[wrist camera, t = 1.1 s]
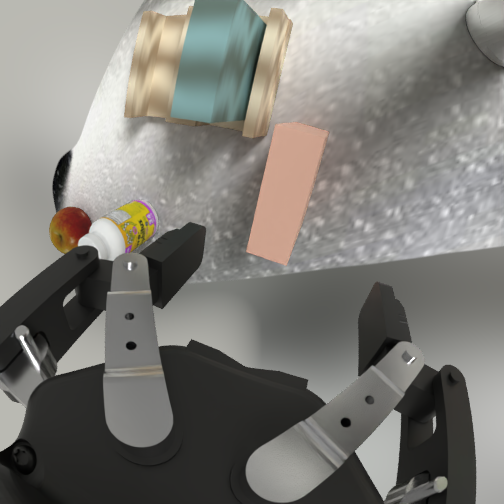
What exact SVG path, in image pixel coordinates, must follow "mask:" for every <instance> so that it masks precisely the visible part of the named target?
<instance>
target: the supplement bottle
mask: <svg viewBox="0 0 504 504" xmlns="http://www.w3.org/2000/svg"><path fill="white" fill-rule="evenodd" d="M158 224H159V221H158V216H157V213H156V211H155V209H154V208H153V207H152V205H151V204H149V203H148V202H147V201H144V200H140V199H138V200H134V201H131V202H129V203H127V204H126V205H124V206H122V207H120V208H118V209H116V210H114V211H113V212H111V213H109V214H107V215H105V216H103V217H102V218H100V219H98V220H96V221H95V222H94V223H93V224H92V225H91V227H90V230H89V234H86V235H85V236H83V237H82V238H80V240H79V242H78V246H82V245H89V246H93V247H95V248H96V249H97V250H98V255H99V259H105V260H111V261H114V259H115V258H116V257H117V256H119V255H121V254H124V253H130V252H132V251H133V250H134V249H136V248H137V247H138V246H140V245H141V244H142V243H144V242H145V241H147V240H148V239H149V238H151V237H152V236H153V235H154V234H155V233H156V231H157V229H158Z"/></svg>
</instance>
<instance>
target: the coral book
mask: <svg viewBox="0 0 504 504" xmlns="http://www.w3.org/2000/svg"><path fill="white" fill-rule="evenodd" d="M328 135H329V131H325V130H322V129H319V128H315V127H312V126H308V125H305V124H301V123H298V122H291V123H282V124H275V128H274V132H273V137H272V141H271V145H270V150H269V154H268V158H267V163H266V167H265V171H264V176H263V180H262V184H261V189H260V193H259V198H258V202H257V206H256V211H255V215H254V219H253V224H252V228H251V233H250V237H249V242H248V246H247V250H246V252H248V253H251V254H254V255H256V256H259V257H262V258H265V259H268V260H271V261H274V262H277V263H280V264H283V265H286V266H287V263H288V261H289V258H290V255H291V253H292V250H293V247H294V245H295V242H296V239H297V237H298V234H299V231H300V228H301V226H302V223H303V220H304V217H305V213H306V210H307V207H308V204H309V200H310V197H311V194H312V190H313V187H314V184H315V180H316V177H317V173H318V170H319V167H320V163H321V160H322V156H323V153H324V149H325V145H326V142H327V138H328Z"/></svg>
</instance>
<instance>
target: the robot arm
mask: <svg viewBox="0 0 504 504" xmlns="http://www.w3.org/2000/svg"><path fill="white" fill-rule="evenodd" d="M466 22H467V27H468V30H469V32H470V34H471V36H472V39H473V40H474V42H475V43H476V45H477V46H478V47H479V49H480V50H481V51H482V52H483V53H484V54H485V55H486V56H487V57H488V58H489V59H490V60H491V61H493V62H494V63H496V64H498V65H500V66H503V67H504V0H476V3H475V4H474V5H472V6H471V7H470V8H469V9H468V11H467V13H466ZM205 235H206V228H205V227H204V226H201V225H198V224H195V223H192V222H189V223H188V224H186V225H185V226H184V227H182V228H181V229H180V230H179V229H175V230H172V231H168V232H166V233H165V234H164V235H162V236H161V238H158V239H157V240H156V241H155V242H153V243H152V244H151V245H149V246H148V247H147V248H145V249H144V250H143V251H141V252H140V253H124V254H121V255H119V256H117V257H116V258H115V259H114V261H111V260H105V259H99V255H98V250H97V249H96V248H95V247H93V246H89V245H82V246H78V247H75V248H73V249H72V250H70V251H69V252H67V253H66V254H65V255H64V256H62V257H61V258H59V259H58V260H57V261H55V262H54V263H53V264H51V265H50V266H49V267H47V268H46V269H45V270H44V271H42V272H41V273H40V274H39V275H37V276H36V277H35V278H33V279H32V280H31V281H30V282H29V283H27V284H26V285H25V286H24V287H23V288H21V289H20V290H19V291H18V292H17V293H15V294H14V295H13V296H12V297H11V298H10V299H9V300H7V301H6V302H5V303H4V304H3V305H2V306H1V307H0V388H1V389H2V390H3V391H4V392H5V394H6V395H7V396H8V397H9V398H10V399H11V400H12V401H14V402H17V403H21V404H22V405H23V406H24V407H25V408H26V414H25V418H24V422H23V425H22V429H21V431H20V433H19V436H18V438H17V439H16V441H15V442H14V443H13V444H12V445H11V446H9V447H8V448H6V449H5V450H3V451H1V452H0V504H475V501H476V457H475V442H474V432H473V423H472V416H471V410H470V403H469V398H468V392H467V387H466V382H465V378H464V376H463V375H462V373H461V372H460V371H459V370H458V369H457V368H456V367H454V366H452V365H445V366H443V368H441V370H440V371H439V372H438V371H436V370H434V369H432V368H431V367H429V366H427V365H425V358H424V355H423V353H422V352H421V350H420V349H419V348H418V347H417V346H415V345H414V344H412V341H411V336H410V331H409V327H408V324H407V318H406V314H405V310H404V307H403V306H402V304H401V303H400V301H399V300H397V299H395V296H394V292H393V288H392V286H389V285H386V284H383V283H380V282H376V283H375V284H374V286H373V288H372V290H371V292H370V293H369V295H368V297H367V299H366V301H365V303H364V305H363V307H362V309H361V311H360V314H359V319H358V329H359V367H358V376H360V377H359V378H358V379H357V380H356V381H354V382H353V383H352V384H351V385H350V386H349V387H347V388H346V389H345V390H344V391H342V392H341V393H340V394H339V395H338V396H336V397H335V398H334V399H333V400H331V401H330V402H329V403H327V404H326V403H325V402H324V401H323V400H322V399H321V398H319V397H318V396H317V395H316V394H314V393H313V392H311V391H310V390H308V389H306V388H307V382H308V380H307V379H304V378H300V377H297V376H293V375H290V374H286V373H283V372H280V371H273V370H264V369H255V368H248V367H245V366H243V365H242V364H240V363H238V362H237V361H235V360H234V359H232V358H230V357H229V356H227V355H226V354H224V353H222V352H221V351H219V350H217V349H214V348H212V347H209V346H207V345H204V344H202V343H199V342H197V341H194V340H192V339H191V341H190V342H189V344H188V345H187V347H185V346H175V345H172V346H171V345H169V346H160V347H158V341H157V335H156V328H155V321H154V313H153V305H154V306H156V307H159V308H161V309H163V308H164V307H165V306H166V304H167V303H168V302H169V301H170V300H171V298H173V296H174V295H175V294H176V293H177V292H178V291H179V289H180V288H181V287H182V286H183V285H184V284H185V283H186V281H187V280H188V279H189V278H190V277H191V276H192V275H193V274H194V272H195V271H196V270H197V269H198V268H199V266H200V264H201V262H202V258H203V251H204V243H205ZM73 289H75V292H76V296H74V297H73V298H72V299H71V300H70V301H69V302H68V303H67V304H66V305H65V306H64V307H63V301H64V299H65V297H66V296H67V295H68V294H69V293H70V292H71V291H72V290H73ZM103 310H105V311H106V323H105V363H102V364H99V365H95V366H91V367H88V368H84V369H80V370H76V371H72V372H69V373H65V374H61V375H56V376H55V374H56V372H57V362H58V361H59V360H60V359H61V358H62V356H63V355H64V354H65V353H66V352H67V351H68V350H69V348H70V347H71V346H72V345H73V344H74V343H75V341H76V340H77V339H78V338H79V337H80V336H81V335H82V333H83V332H84V331H85V330H86V329H87V328H88V327H89V326H90V325H91V324H92V322H93V321H94V320H95V319H96V318H97V317H98V316H99V315H100V314H101V312H102V311H103ZM393 409H394V410H396V411H398V412H400V413H401V437H400V438H401V439H400V452H399V463H398V473H397V481H396V486H394V487H393V488H392V489H391V490H390V491H389V492H388V494H387V497H386V500H385V501H383V499H382V497H381V495H380V494H379V492H378V490H377V489H376V487H375V485H374V484H373V482H372V480H371V479H370V477H369V475H368V474H367V472H366V470H365V468H364V467H363V465H362V463H361V462H360V460H359V458H358V456H357V455H356V453H355V450H356V449H357V448H358V447H359V446H360V445H361V444H362V443H363V442H364V441H365V440H366V439H367V438H368V437H369V436H370V435H371V434H372V433H373V432H374V431H375V429H376V428H377V427H378V426H379V425H380V424H381V423H382V422H383V420H384V419H385V418H386V417H387V416H388V415H389V414H390V412H391V411H392V410H393ZM435 416H436V429H435V432H434V434H433V417H435Z"/></svg>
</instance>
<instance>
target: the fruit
mask: <svg viewBox="0 0 504 504" xmlns="http://www.w3.org/2000/svg"><path fill="white" fill-rule="evenodd" d="M91 225H92V224H91V221H90V219H89V217H88V215H87V214H86V213H85V212H84V211H83V210H81V209H80V208H76V207H66V208H64V209H61V210H60V211H58V212H57V213H56V214H55V216H54V217H53V219H52V221H51V223H50V228H49V233H50V238H51V241H52V243H53V245H54V246H55V247H56V248H57V249H58V250H59V251H60V252H62V253H64V254H66V253H67V252H69V251H70V250H72V249H73V248H75V247H78V242H79V240H80V238H82V237H83V236H85V235H86V234H89V230H90V227H91Z"/></svg>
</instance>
